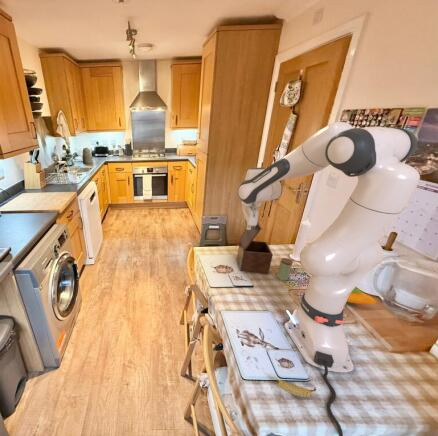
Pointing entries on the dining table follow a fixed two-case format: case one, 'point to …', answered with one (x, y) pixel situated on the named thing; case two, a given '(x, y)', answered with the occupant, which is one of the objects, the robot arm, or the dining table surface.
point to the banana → (295, 389)
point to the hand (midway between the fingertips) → (247, 226)
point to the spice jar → (284, 269)
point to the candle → (301, 240)
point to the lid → (249, 235)
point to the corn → (360, 298)
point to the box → (255, 257)
